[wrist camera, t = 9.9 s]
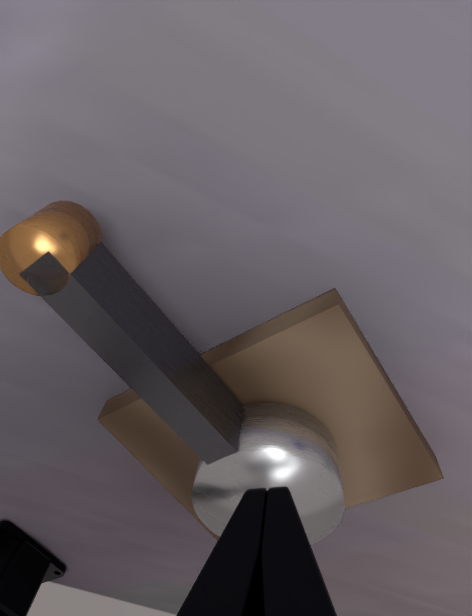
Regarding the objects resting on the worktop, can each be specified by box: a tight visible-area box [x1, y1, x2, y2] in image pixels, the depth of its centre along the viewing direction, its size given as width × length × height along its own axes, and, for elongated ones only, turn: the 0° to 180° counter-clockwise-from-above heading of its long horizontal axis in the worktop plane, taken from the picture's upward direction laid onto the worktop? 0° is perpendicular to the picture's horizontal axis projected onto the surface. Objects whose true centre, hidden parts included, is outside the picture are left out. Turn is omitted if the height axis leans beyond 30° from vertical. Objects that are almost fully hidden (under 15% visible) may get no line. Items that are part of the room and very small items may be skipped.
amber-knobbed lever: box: [0, 201, 345, 545], centre depth 18 cm, size 19×7×6 cm, turn 36°
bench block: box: [98, 289, 444, 541], centre depth 24 cm, size 14×12×2 cm
